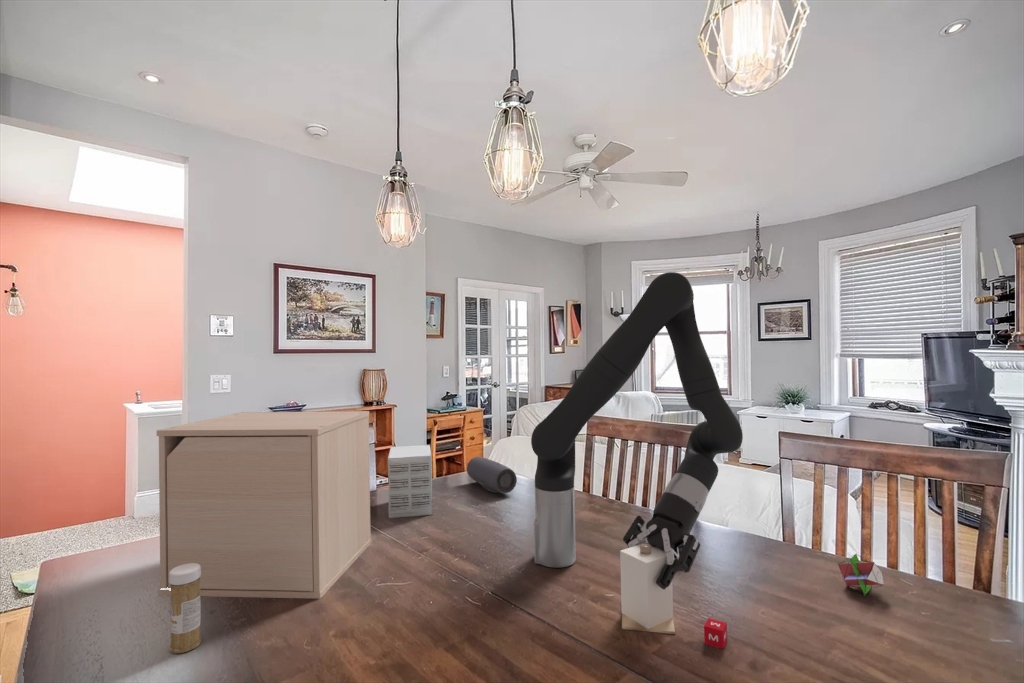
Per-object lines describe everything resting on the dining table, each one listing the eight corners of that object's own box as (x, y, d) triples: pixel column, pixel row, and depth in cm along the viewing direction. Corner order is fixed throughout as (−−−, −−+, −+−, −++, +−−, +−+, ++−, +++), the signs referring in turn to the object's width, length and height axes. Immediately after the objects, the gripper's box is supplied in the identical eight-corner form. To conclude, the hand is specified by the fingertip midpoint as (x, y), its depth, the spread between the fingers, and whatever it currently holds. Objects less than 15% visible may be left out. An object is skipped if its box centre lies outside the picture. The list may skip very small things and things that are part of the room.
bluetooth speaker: (518, 494, 170) (518, 465, 170) (494, 499, 165) (494, 469, 165) (488, 480, 189) (487, 453, 190) (465, 483, 185) (465, 456, 185)
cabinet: (158, 595, 104) (156, 430, 104) (243, 541, 133) (242, 411, 133) (320, 598, 101) (317, 428, 102) (371, 542, 130) (369, 410, 130)
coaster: (621, 628, 88) (621, 626, 88) (621, 603, 97) (621, 601, 97) (675, 634, 86) (675, 631, 86) (670, 607, 95) (670, 605, 95)
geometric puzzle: (824, 575, 102) (851, 551, 98) (836, 565, 107) (862, 542, 103) (858, 607, 98) (887, 583, 94) (868, 595, 102) (897, 572, 98)
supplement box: (391, 501, 165) (390, 446, 165) (431, 498, 168) (430, 444, 168) (387, 518, 148) (386, 457, 148) (432, 515, 151) (431, 455, 151)
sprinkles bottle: (166, 648, 85) (165, 568, 85) (196, 635, 89) (195, 559, 89) (175, 658, 82) (174, 576, 82) (205, 645, 86) (204, 566, 86)
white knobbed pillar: (648, 629, 87) (646, 556, 87) (621, 612, 93) (620, 544, 93) (673, 617, 91) (671, 547, 91) (645, 602, 96) (644, 536, 96)
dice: (704, 644, 83) (703, 625, 83) (708, 635, 86) (708, 617, 86) (723, 649, 82) (723, 631, 82) (727, 640, 84) (726, 622, 84)
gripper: (643, 483, 102) (603, 553, 96) (703, 500, 90) (662, 581, 84) (661, 504, 105) (623, 573, 98) (722, 524, 93) (683, 604, 86)
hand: (641, 577), depth 91 cm, fingers open, 8 cm apart
